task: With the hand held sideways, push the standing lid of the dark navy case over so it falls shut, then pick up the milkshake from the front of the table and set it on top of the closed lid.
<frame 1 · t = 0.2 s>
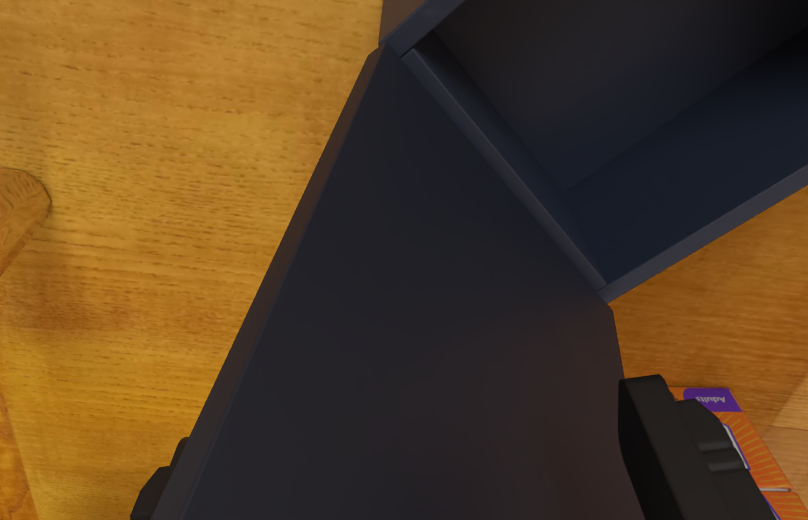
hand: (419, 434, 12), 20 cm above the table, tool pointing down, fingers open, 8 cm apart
case lid: (501, 384, 15), point 17 cm above the table, hinge at 100.9°
game box: (587, 459, 44), on the table
milkshake: (12, 193, 32), on the table
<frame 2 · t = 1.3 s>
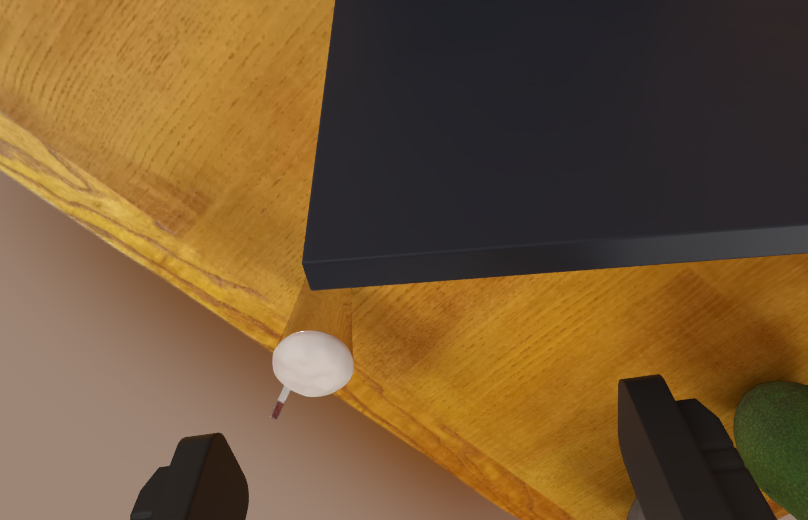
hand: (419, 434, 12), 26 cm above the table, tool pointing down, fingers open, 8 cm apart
case lid: (581, 31, 16), point 17 cm above the table, hinge at 105.6°
fruit: (765, 394, 46), on the table
milkshake: (324, 287, 42), on the table
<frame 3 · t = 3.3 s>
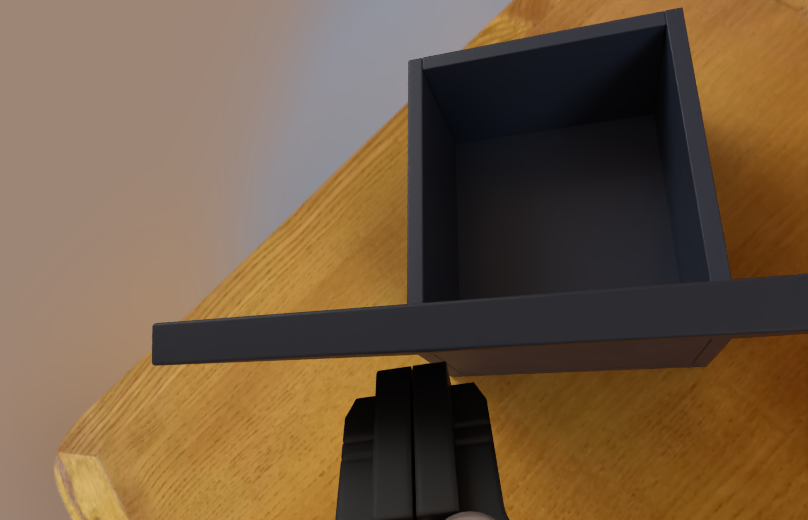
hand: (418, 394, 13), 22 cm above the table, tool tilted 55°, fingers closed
case lid: (546, 332, 17), point 17 cm above the table, hinge at 100.9°
case: (560, 239, 36), on the table
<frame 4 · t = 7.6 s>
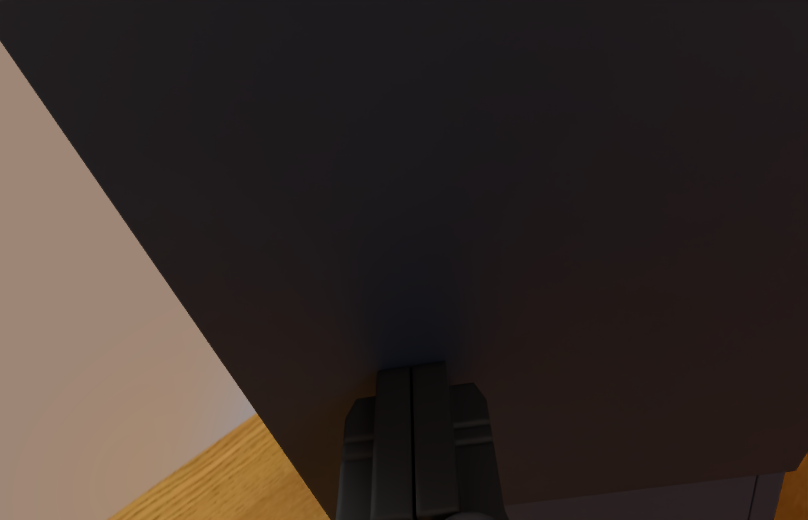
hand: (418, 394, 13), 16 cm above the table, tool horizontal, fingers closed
case lid: (553, 320, 13), point 17 cm above the table, hinge at 102.7°, touching gripper
case: (529, 467, 30), on the table
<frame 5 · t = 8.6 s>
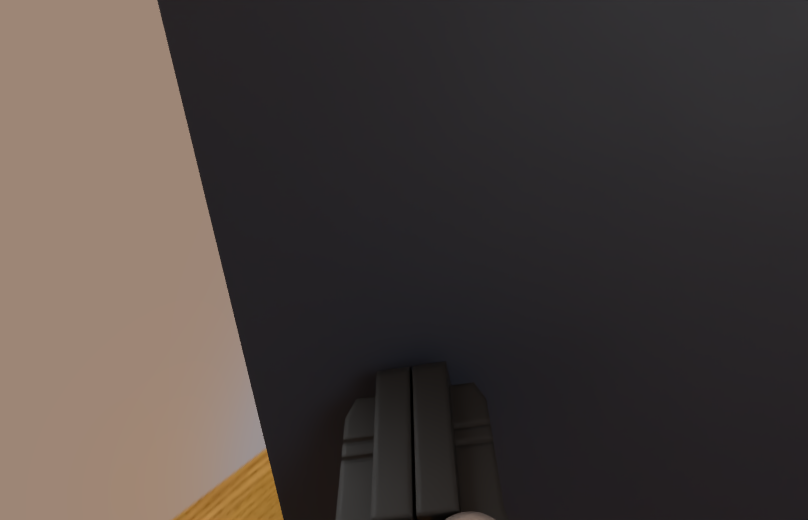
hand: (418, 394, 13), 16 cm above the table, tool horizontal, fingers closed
case lid: (546, 308, 13), point 17 cm above the table, hinge at 68.7°
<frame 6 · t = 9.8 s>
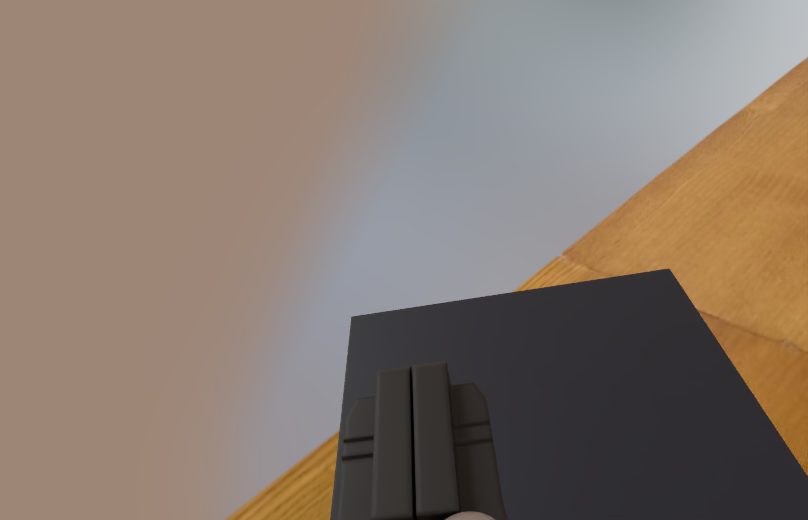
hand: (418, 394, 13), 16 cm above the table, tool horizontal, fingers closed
case lid: (545, 455, 19), point 9 cm above the table, hinge at -0.1°
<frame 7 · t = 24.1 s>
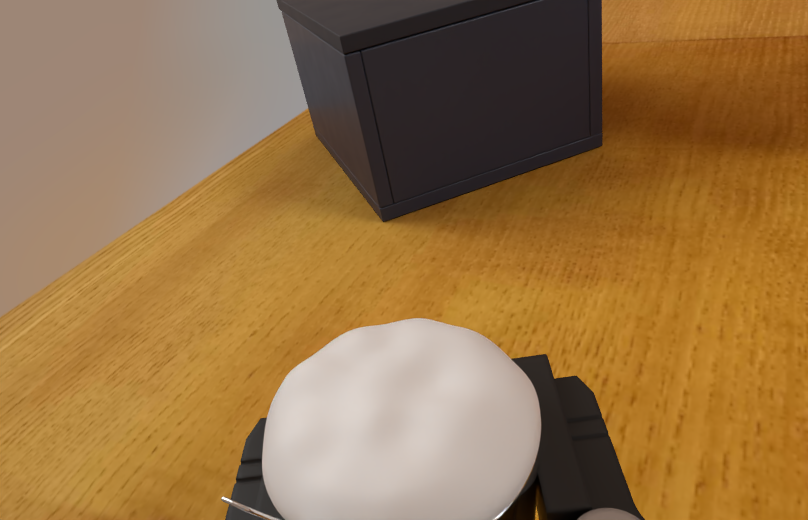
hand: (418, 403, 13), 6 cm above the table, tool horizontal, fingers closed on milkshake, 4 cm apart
case: (441, 139, 40), on the table
when the fingers open (16 cm above the table, at t = 34.8 s): milkshake moves 3 cm, resting on case lid.
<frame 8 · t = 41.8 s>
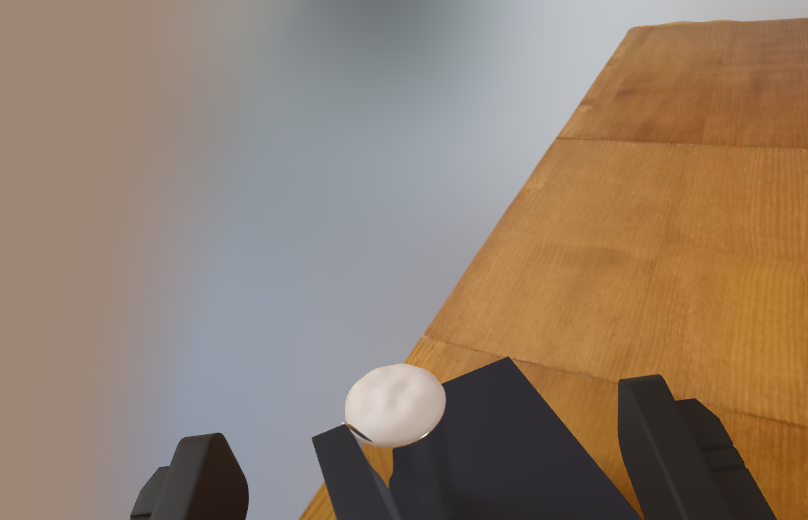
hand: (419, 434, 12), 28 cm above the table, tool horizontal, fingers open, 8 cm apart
case lid: (469, 500, 32), point 9 cm above the table, hinge at -0.2°, touching case, milkshake
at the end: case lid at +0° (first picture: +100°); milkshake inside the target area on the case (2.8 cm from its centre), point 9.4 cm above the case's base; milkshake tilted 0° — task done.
